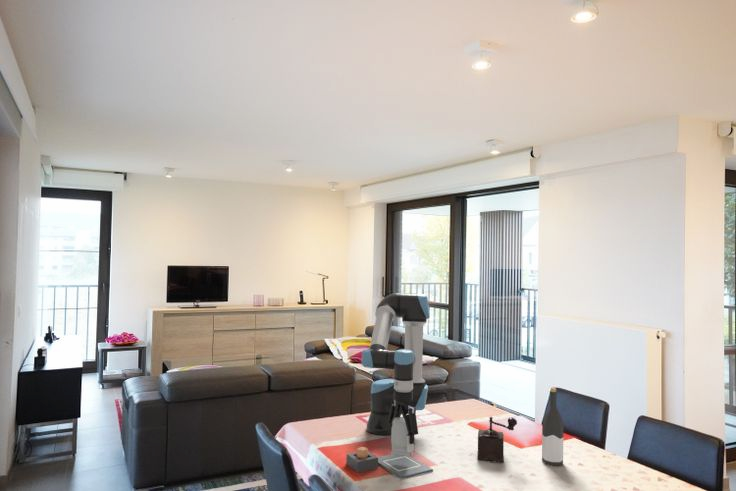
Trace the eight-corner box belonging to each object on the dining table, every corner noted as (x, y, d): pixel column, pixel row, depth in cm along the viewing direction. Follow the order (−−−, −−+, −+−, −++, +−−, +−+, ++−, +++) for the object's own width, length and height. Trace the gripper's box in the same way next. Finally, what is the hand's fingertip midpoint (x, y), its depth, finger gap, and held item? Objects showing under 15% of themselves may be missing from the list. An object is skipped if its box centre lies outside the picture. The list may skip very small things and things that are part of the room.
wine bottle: (562, 460, 212) (563, 386, 212) (563, 467, 204) (564, 391, 205) (542, 457, 214) (542, 384, 215) (541, 464, 207) (542, 389, 207)
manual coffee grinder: (477, 461, 209) (477, 416, 209) (477, 451, 220) (478, 408, 220) (516, 465, 205) (517, 419, 206) (515, 455, 216) (516, 412, 216)
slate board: (372, 460, 207) (372, 458, 207) (402, 453, 215) (402, 451, 215) (400, 479, 190) (400, 476, 190) (432, 471, 198) (432, 468, 198)
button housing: (346, 464, 203) (346, 453, 203) (366, 460, 208) (366, 449, 208) (357, 472, 195) (357, 461, 195) (377, 468, 200) (378, 457, 200)
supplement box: (410, 456, 198) (410, 422, 199) (391, 454, 200) (391, 421, 200) (412, 449, 205) (413, 417, 206) (394, 447, 207) (394, 415, 207)
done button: (354, 458, 202) (354, 448, 202) (364, 456, 204) (364, 446, 205) (360, 462, 198) (360, 452, 198) (369, 460, 201) (370, 450, 201)
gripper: (379, 384, 211) (378, 439, 210) (412, 397, 192) (411, 458, 191) (395, 382, 215) (394, 437, 214) (428, 395, 196) (427, 455, 195)
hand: (402, 447), depth 203 cm, fingers closed on supplement box, 10 cm apart
